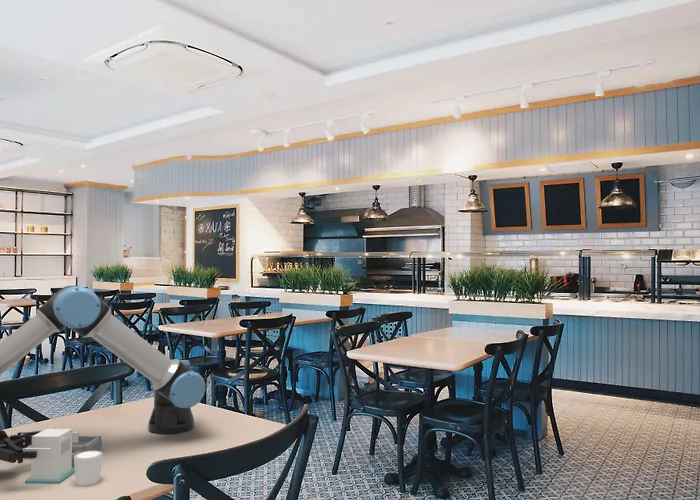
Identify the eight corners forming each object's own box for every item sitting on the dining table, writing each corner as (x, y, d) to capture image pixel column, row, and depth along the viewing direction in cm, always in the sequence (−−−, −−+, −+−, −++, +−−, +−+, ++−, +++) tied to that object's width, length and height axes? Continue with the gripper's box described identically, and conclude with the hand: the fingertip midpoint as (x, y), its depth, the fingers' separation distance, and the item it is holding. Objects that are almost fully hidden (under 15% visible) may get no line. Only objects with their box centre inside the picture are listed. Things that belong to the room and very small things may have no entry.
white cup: (79, 476, 146) (80, 450, 147) (106, 476, 147) (106, 449, 147) (68, 487, 140) (69, 459, 140) (96, 486, 140) (97, 458, 140)
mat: (77, 470, 151) (77, 468, 151) (59, 483, 142) (59, 481, 142) (44, 470, 151) (44, 468, 151) (25, 483, 142) (25, 480, 142)
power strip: (112, 439, 177) (113, 428, 178) (75, 467, 153) (75, 453, 153) (80, 439, 178) (80, 428, 178) (38, 466, 153) (38, 453, 154)
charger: (73, 469, 150) (74, 428, 150) (59, 479, 143) (60, 436, 143) (45, 469, 150) (46, 428, 150) (30, 479, 143) (31, 436, 143)
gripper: (13, 443, 159) (87, 444, 159) (-50, 476, 134) (37, 477, 134) (14, 417, 159) (87, 418, 159) (-49, 445, 134) (38, 446, 134)
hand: (65, 445), depth 147 cm, fingers open, 13 cm apart
